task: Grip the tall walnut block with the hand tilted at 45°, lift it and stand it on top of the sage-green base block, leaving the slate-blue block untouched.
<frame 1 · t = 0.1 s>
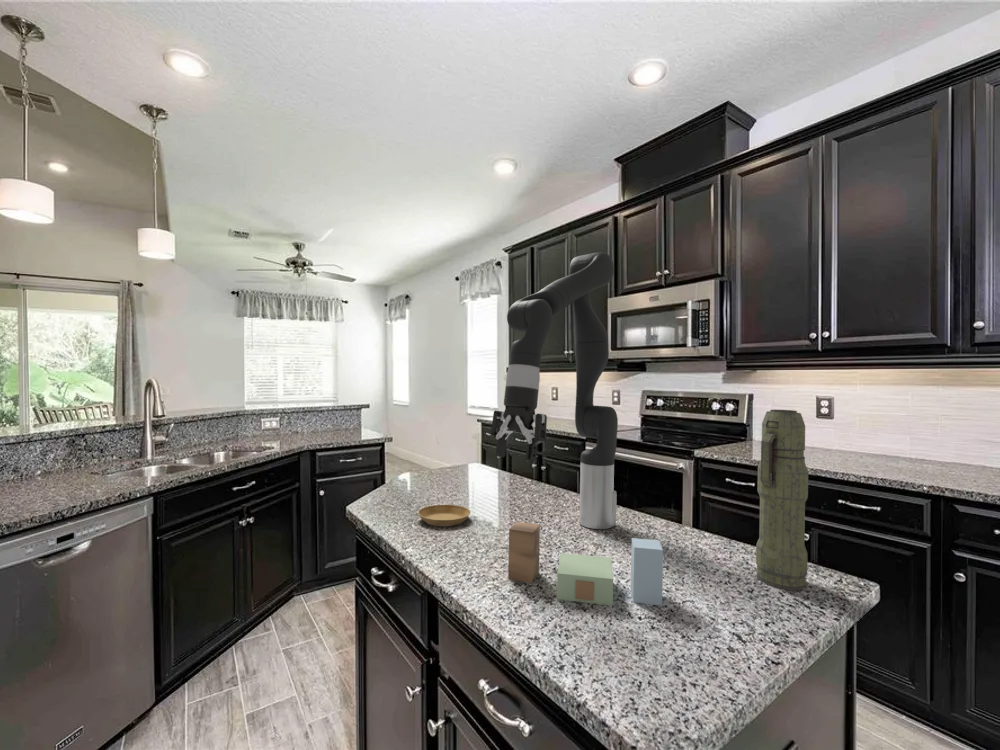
hand: (514, 459, 100), 22 cm above the counter, fingers open, 8 cm apart
thermos: (780, 581, 93), on the counter
slate block: (645, 597, 84), on the counter
walnut block: (523, 575, 92), on the counter
plant saucer: (444, 521, 128), on the counter
base block: (584, 591, 87), on the counter
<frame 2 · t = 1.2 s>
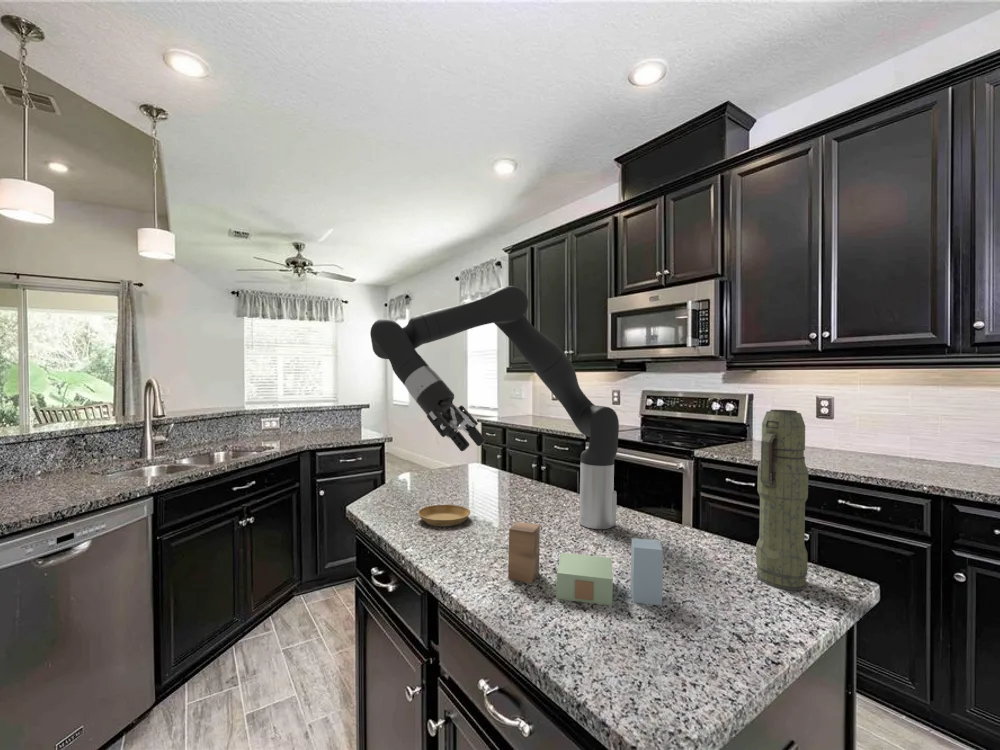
hand: (474, 445, 97), 26 cm above the counter, fingers open, 8 cm apart
nothing on the counter moved.
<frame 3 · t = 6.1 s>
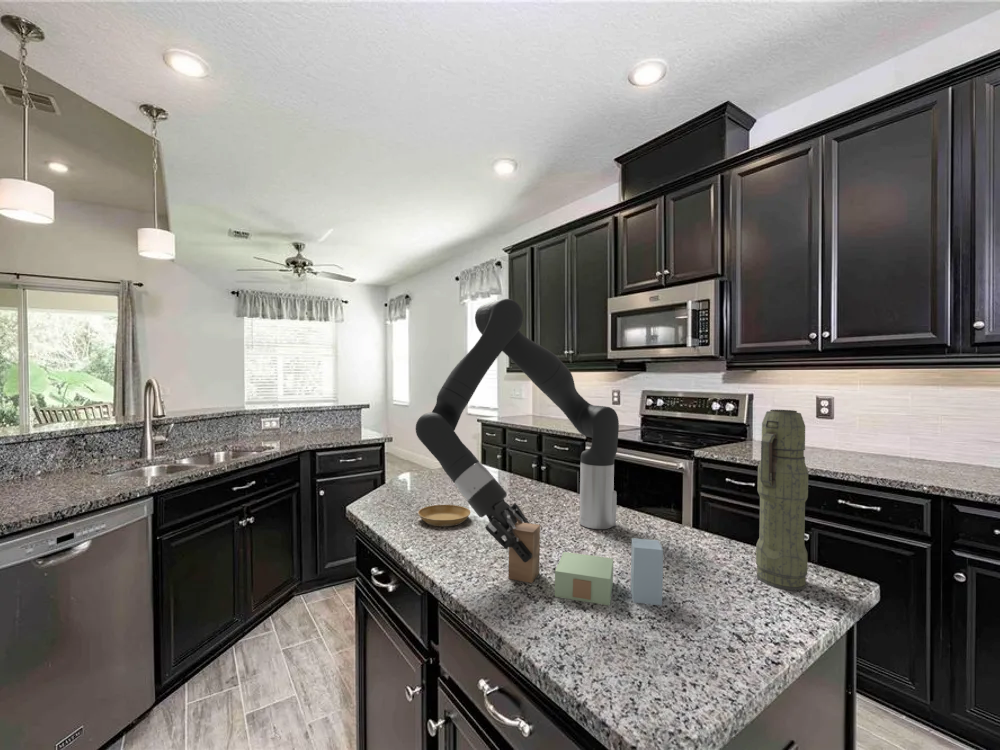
hand: (533, 554, 92), 5 cm above the counter, fingers closed on walnut block, 5 cm apart
walnut block: (524, 575, 92), on the counter, touching gripper
everything else where it was.
when the fingers open (11 cm above the counter, at t = 11.0 s): walnut block drops 2 cm, resting on base block.
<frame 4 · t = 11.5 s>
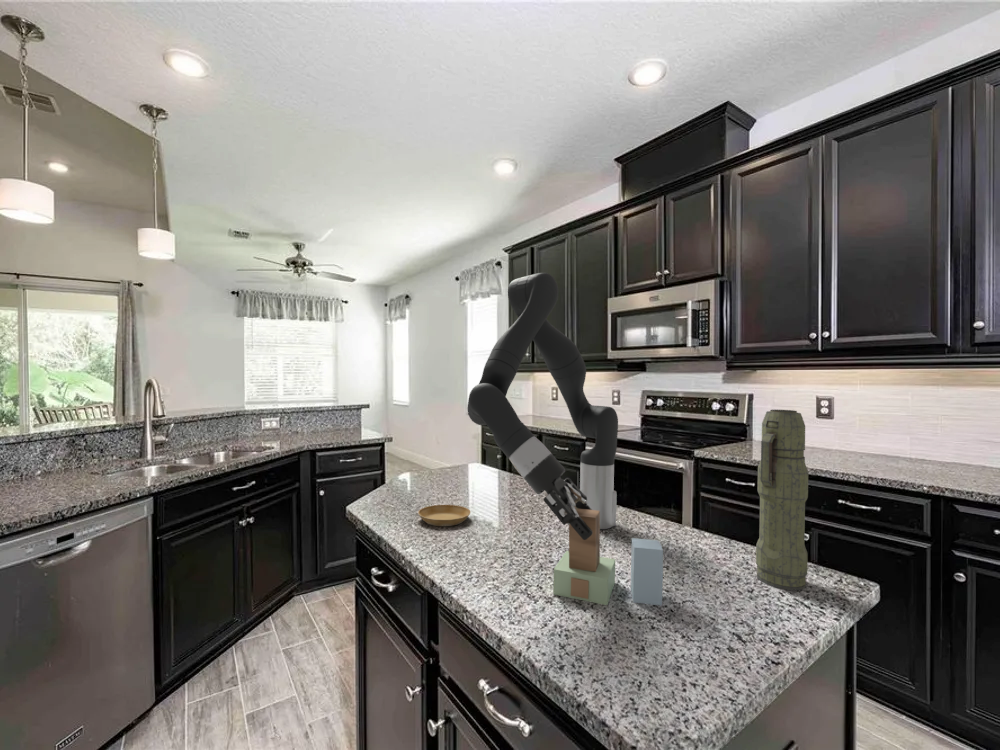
hand: (592, 529, 86), 12 cm above the counter, fingers open, 8 cm apart
walnut block: (584, 564, 87), point 5 cm above the counter, touching base block
base block: (584, 589, 87), on the counter, touching walnut block
everything else where it was.
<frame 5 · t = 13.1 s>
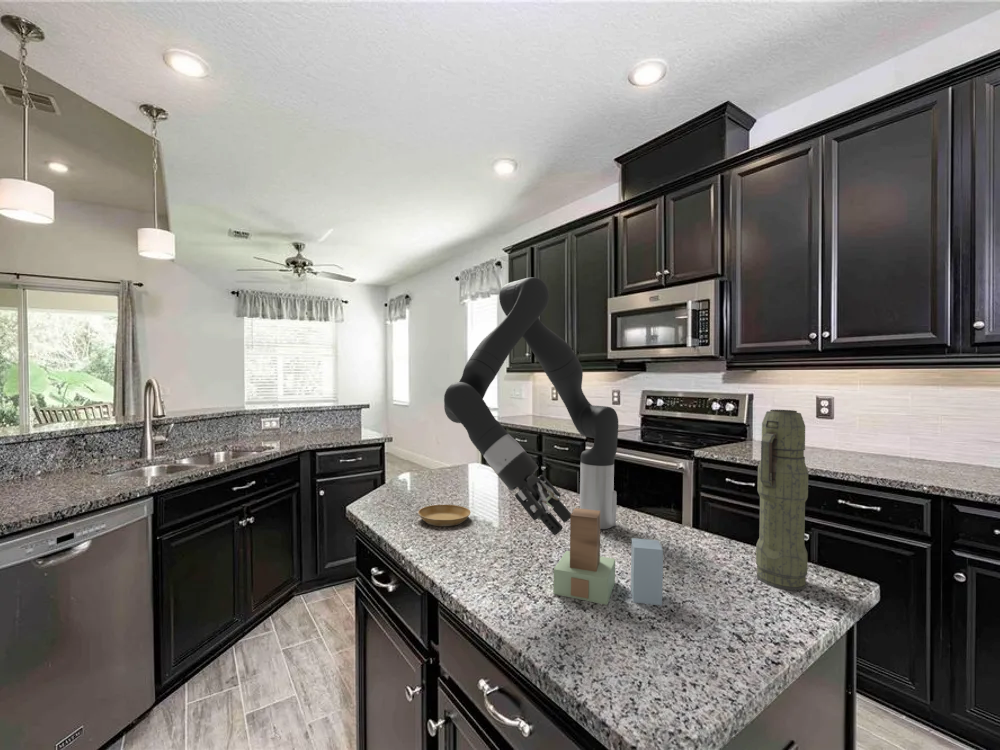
hand: (564, 525, 88), 12 cm above the counter, fingers open, 8 cm apart
nothing on the counter moved.
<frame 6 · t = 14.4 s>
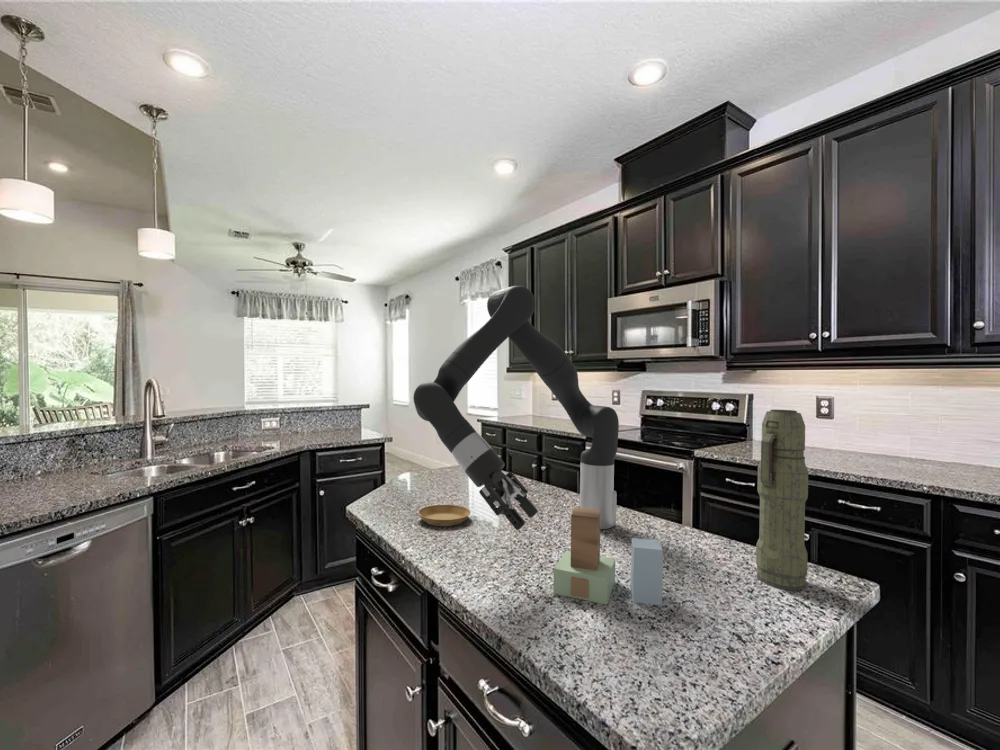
hand: (528, 520, 91), 12 cm above the counter, fingers open, 8 cm apart
nothing on the counter moved.
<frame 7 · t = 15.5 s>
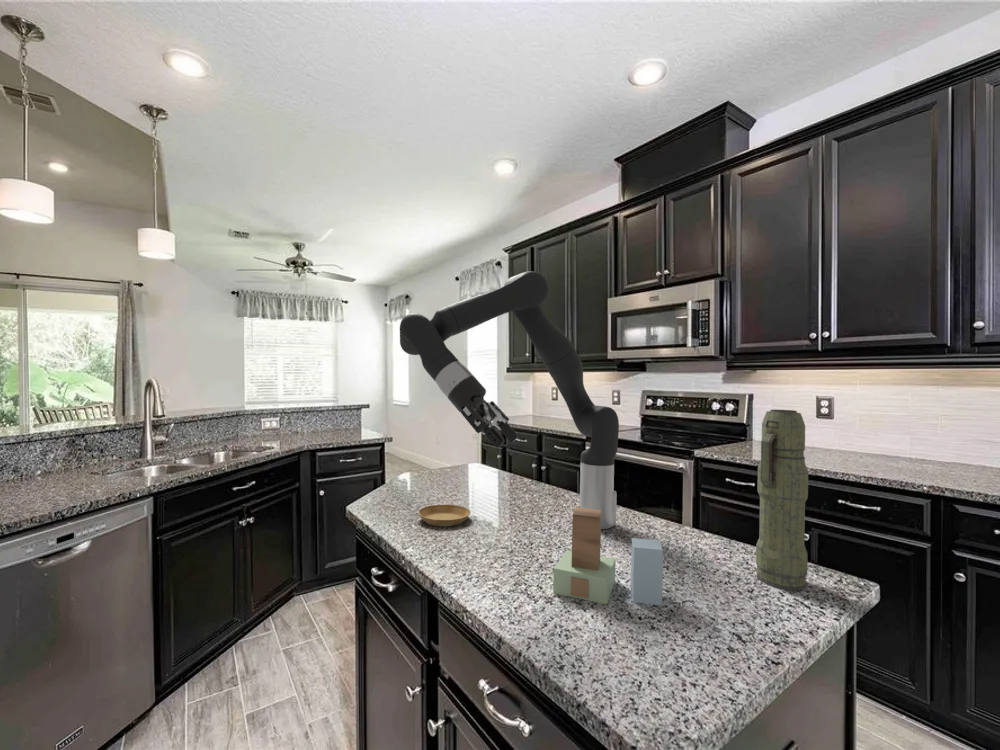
hand: (508, 442, 95), 27 cm above the counter, fingers open, 8 cm apart
walnut block: (586, 563, 88), point 5 cm above the counter
base block: (585, 589, 88), on the counter
everything else where it was.
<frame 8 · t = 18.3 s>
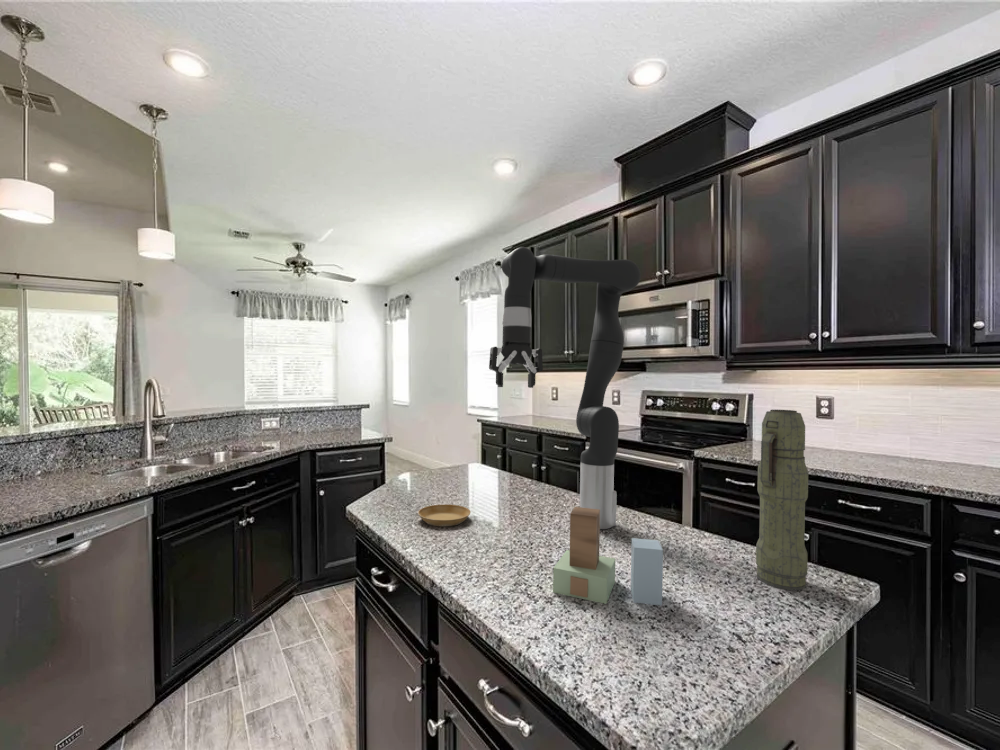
hand: (515, 387, 119), 38 cm above the counter, fingers open, 8 cm apart
walnut block: (584, 562, 88), point 5 cm above the counter, touching base block
base block: (584, 588, 88), on the counter, touching walnut block
everything else where it was.
at the end: walnut block inside the target area on the base block (0.1 cm from its centre), point 5.0 cm above the base block's base; walnut block tilted 1°; walnut block touching base block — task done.
